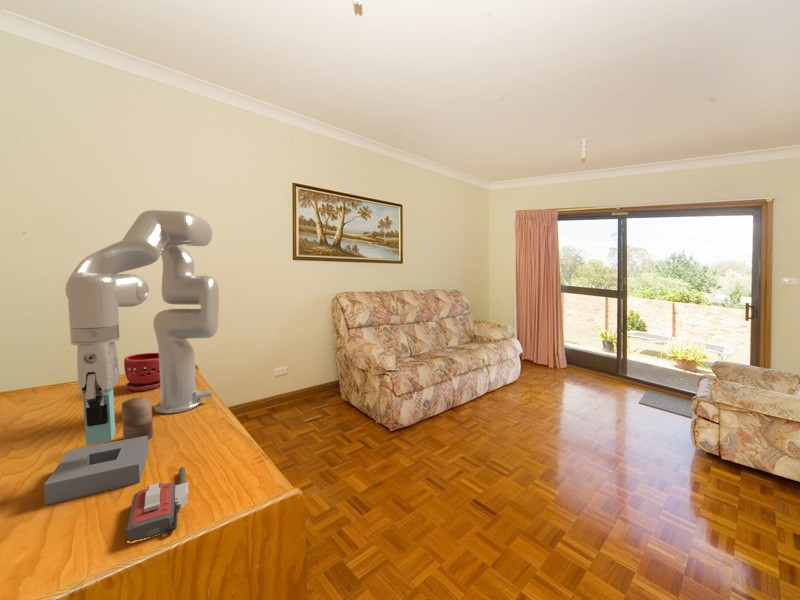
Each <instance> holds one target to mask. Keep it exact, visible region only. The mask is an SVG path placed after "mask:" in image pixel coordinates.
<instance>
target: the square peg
mask: <svg viewBox="0 0 800 600" xmlns="http://www.w3.org/2000/svg"><path fill="white" fill-rule="evenodd" d="M84 395H85V396H83V398H82V401H83V417H84V431H85V433H84V434H85V446H92V445H98V444H103V443H109V442H113V439H114V437H115V435H116V419H115V416H116V415H115V404H114V403H115V400H114V389H113V388H112V389H111V390H110V391H107V390H105V404H107V410H108V422H107V423H106V424H101V425H95V426H87V417H86V398H85V397H86V394H84ZM98 395H99V397H100V394H96V396H98Z"/></svg>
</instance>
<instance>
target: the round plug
mask: <svg viewBox="0 0 800 600" xmlns="http://www.w3.org/2000/svg"><path fill="white" fill-rule="evenodd" d="M152 408H153V407H152V398H151V397H148V396H140V397H134V398H130V399H126V400H124V401H123V402H122V403H121V409H122V410H121V411H122V414H121V415H122V430H123V433H122V435H123V440H126V439H131V438H137V437H142V436H147V435H148V441H149V440H151V439H152V438H153V436H154V434H153V433H154V432H153V431H154V430H153V429H154V428H153V412H152V411H153V409H152Z"/></svg>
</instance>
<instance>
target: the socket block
mask: <svg viewBox="0 0 800 600" xmlns="http://www.w3.org/2000/svg"><path fill="white" fill-rule="evenodd" d="M148 455H149V440H148V435H147V436H142V437H137V438H131V439H126V440H124V439H121V440H116V441H109V442H104V443H98V444H93V445H88V446H83V447H79V448H74V449H69V450H68V451H67V452H66V454H65V455H64V457H62V459H61V461H60V462H59V464H58V465H57V466H56V468H55V469H54V470H53V472H52V473H51V474H50V476H49V477H48V479H47V480H46V481H45V483H44V484H43V489H44V490H43V491H44V501H45V502H44V503H45V506H47V505H53V504H57V503H61V502H64V501H69V500H73V499H77V498H80V497H81V498H82V497H85V496H91V495H93V494H97V493H102V492H106V491H110V490H114V489H117V488H123V487H127V486H131V485H134V484H138V483H140V482H141V479H142V476H143V472H144V468H145V465H146V461H147V458H148Z"/></svg>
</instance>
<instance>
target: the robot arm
mask: <svg viewBox="0 0 800 600" xmlns="http://www.w3.org/2000/svg"><path fill="white" fill-rule="evenodd" d="M212 239H213V231H212V228H211V226H210V224H209V222H208V221H207V220H206V219H203V218H201V217H200V216H198V215H195V214H192V213H190V212H187V211H181V210H180V211H178V210H161V209H159V210H157V209H153V210H146V211H142V212H140V214H139V215H138V216H137V217H136V219H135V221H134V222H133V224H132V225H131V227H130V228H129V229H128V231H127V232H126V234H124V236H123V238H122V239H121V240H120V241H118V242H114V243H112V244H110V245H108V246H106V247H104V248H102V249H100V250H97V251H95V252H93V253H91V254H90V255H88V256H86V257H85V258H84V259H82V260H81V261H80V262H79V264H77V266H76V267H75V269H74V270H73V272H72V273H71V274H70V276H69V277H68V279H67V281H66V283H65V290H64V291H65V295H66V298H67V303H68V304H67V305H68V317H69V319H68V321H69V335H70V345H72V346H77V353H76V356H77V357H76V364H77V365H76V366H77V385H78V390H79V393H80V394H83V395H86V397H85V398H86V417H87V426H95V425H101V424H106V423H107V422H108V410H107V404H105V390H107V391H110V390H111V389H113V388H115V385H116V384H117V383H118V382H119V380H120V369H119V368H120V367H119V359H118V351H117V343H116V342H117V341H120V324H119V323H120V321H119V308H124V307H125V308H128V307H129V308H130V307H131V308H132V307H137V306H139V305H141V304H142V303H144V302H145V301H146V300H147V298H148V297H149V293H150V292H149V291H150V290H149V289H150V288H149V285H148V283H147V281H146V280H145V279H143V277H141V276H139V275H137V274H132V273H131V274H130V273H124V272H126V271H132V270H136V269H140V268H143V267H147V266H149V265H152V264H154V263H156V262H157V261H158V260H159V258H160V257H161V260H162V275H161V297H162V300H163V301H164V302H165V303H166V304H170V305H179V306H180V305H181V306H182V305H183V306H184V305H185V306H186V305H188V306H189V305H192V306H193V305H195V306H197V305H199V306H200V308H169V309H163V310H161V311H159V312H158V313H156V315H155V316H154V318H153V331H154V333H155V337H156V341H157V348H158V353H159V369H160V387H159V388H160V389H159V391H160V402H157V403H156V404H155V406H154V410H155V411H156V412H157V413H159V414H175V413H176V414H177V413H182V412H187V411H190V410H193V409H195V408H197V407H199V406H200V405H201V404H202V402H203V401H202V398H211V397H212V396H213V395H212V394H213V393H212V390H208V389H205V390H198V387H196V385H197V383H196V361H195V360H196V358H195V350H194V347H193V346H192V344H191V343H190V342H189V341H188V339H210V338H213V337H214V336H215V335H216V334H217V332H218V328H219V327H218V326H219V309H220V308H219V306H220V305H219V303H220V288H219V284H218V282H217V280H216V279H215V278H214V277H213V276H210V275H195V260H194V258H193V257H192V256H191V254H190V253H189V252H188V250H186V249H185V248H184V247H207V246H208V245H209V244H210V243H211V242H212ZM96 394H100V397H99V395H98V396H96ZM201 401H202V402H201ZM200 403H201V404H200ZM199 404H200V405H199ZM198 405H199V406H198ZM196 406H197V407H196ZM194 407H195V408H194ZM192 408H193V409H192Z"/></svg>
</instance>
